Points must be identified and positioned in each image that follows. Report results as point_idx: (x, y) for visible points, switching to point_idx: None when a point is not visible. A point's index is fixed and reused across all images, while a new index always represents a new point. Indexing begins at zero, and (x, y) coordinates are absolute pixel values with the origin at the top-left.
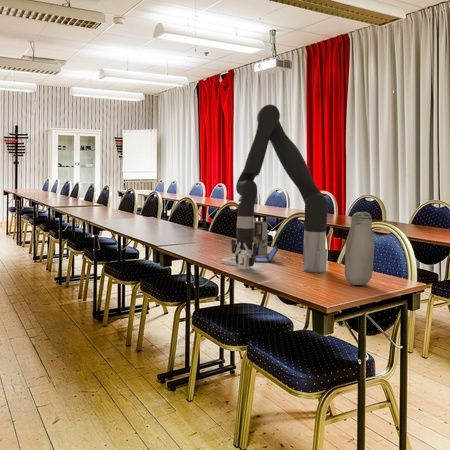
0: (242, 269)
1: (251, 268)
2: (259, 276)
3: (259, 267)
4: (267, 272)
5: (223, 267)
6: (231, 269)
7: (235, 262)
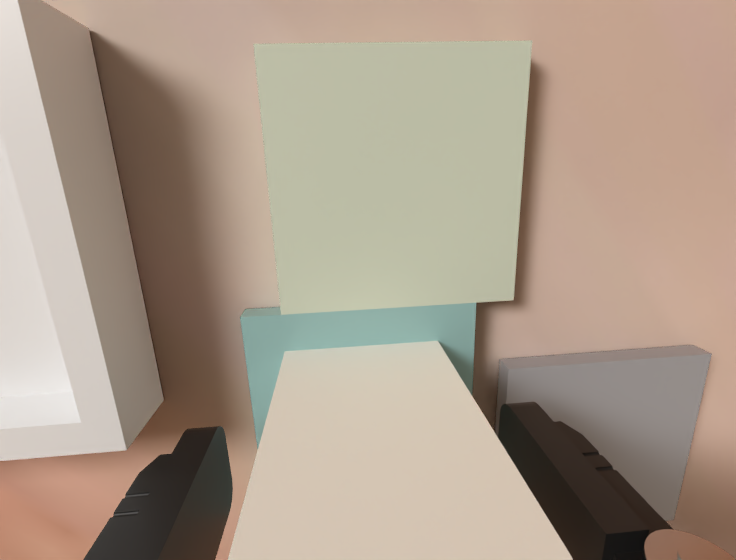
0: None
1: (464, 363)
2: (730, 517)
3: (514, 207)
4: (719, 300)
5: (73, 534)
6: None
7: (105, 445)
